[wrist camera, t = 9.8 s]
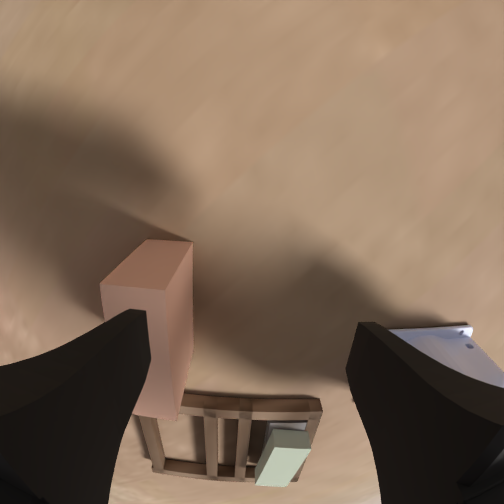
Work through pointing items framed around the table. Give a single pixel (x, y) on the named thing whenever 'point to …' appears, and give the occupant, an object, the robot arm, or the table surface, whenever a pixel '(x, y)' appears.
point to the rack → (245, 414)
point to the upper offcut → (282, 457)
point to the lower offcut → (283, 427)
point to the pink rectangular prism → (158, 317)
